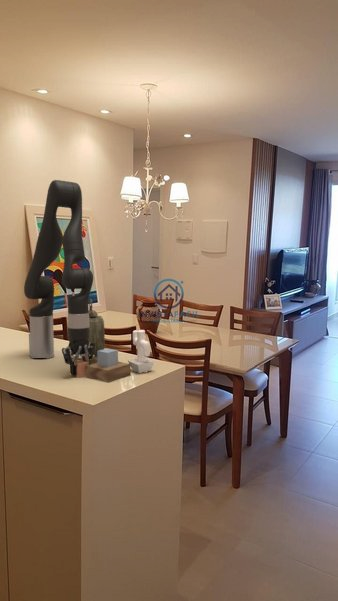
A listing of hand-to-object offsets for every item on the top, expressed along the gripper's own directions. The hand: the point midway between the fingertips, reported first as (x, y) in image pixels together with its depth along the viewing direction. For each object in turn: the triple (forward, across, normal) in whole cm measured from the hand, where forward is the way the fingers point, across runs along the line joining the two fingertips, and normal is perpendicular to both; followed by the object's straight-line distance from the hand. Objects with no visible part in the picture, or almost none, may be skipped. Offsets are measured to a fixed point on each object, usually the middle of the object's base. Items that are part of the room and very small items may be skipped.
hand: (79, 373), depth 161 cm
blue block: (-3, +5, -9) cm, 11 cm away
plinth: (+1, +5, -9) cm, 10 cm away
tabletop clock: (+1, +16, +11) cm, 19 cm away
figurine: (+1, +17, -14) cm, 22 cm away
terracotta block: (0, 0, 0) cm, 0 cm away
